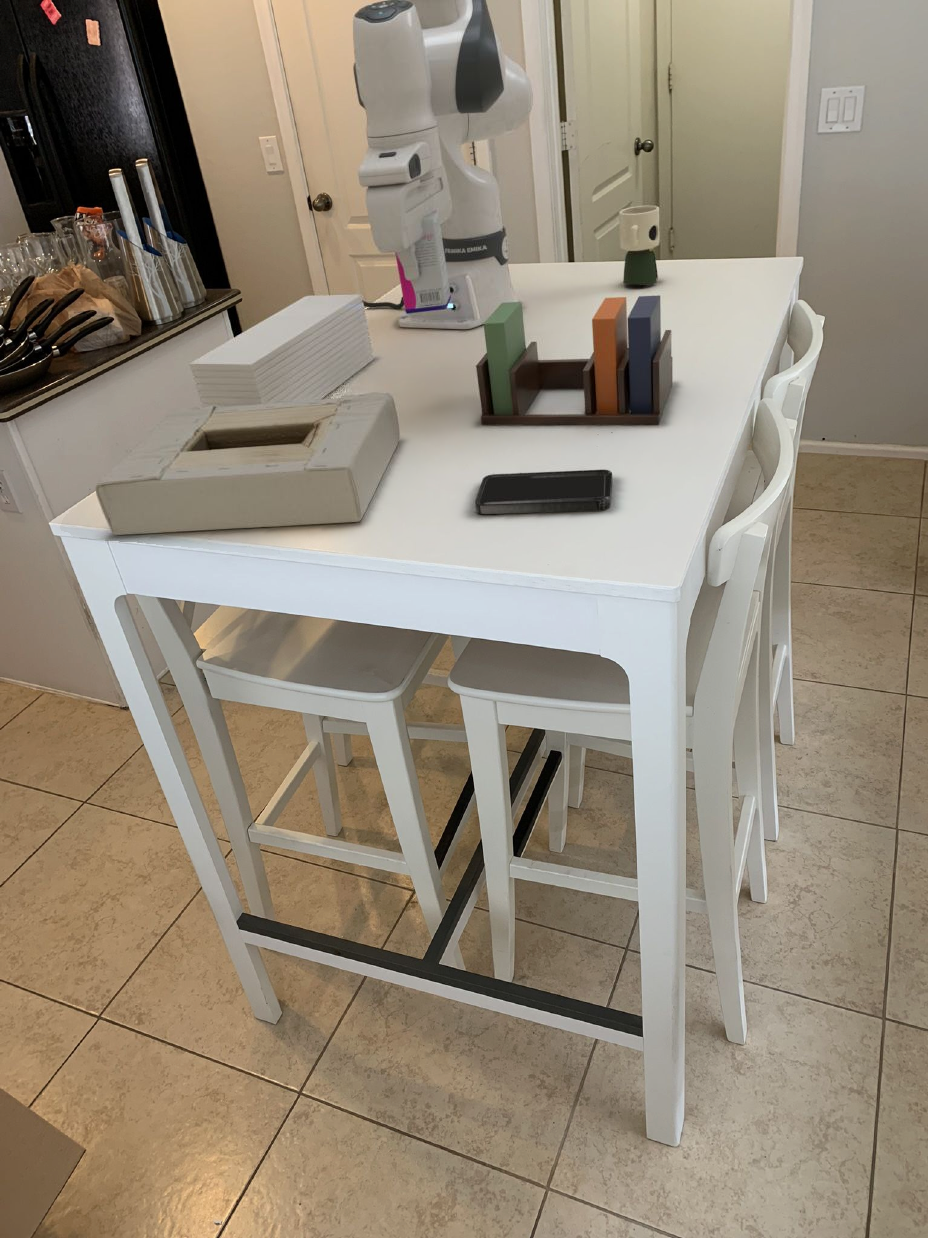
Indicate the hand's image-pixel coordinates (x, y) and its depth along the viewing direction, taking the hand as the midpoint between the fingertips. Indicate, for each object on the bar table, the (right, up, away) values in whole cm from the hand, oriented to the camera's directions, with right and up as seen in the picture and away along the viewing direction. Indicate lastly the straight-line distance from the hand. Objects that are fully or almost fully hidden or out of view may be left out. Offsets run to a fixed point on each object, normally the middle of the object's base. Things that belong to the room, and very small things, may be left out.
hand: (423, 270), depth 121 cm
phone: (+15, -33, -18) cm, 40 cm away
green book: (+12, -17, +6) cm, 22 cm away
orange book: (+26, -18, +2) cm, 31 cm away
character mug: (+38, +16, +48) cm, 63 cm away
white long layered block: (-21, -11, +22) cm, 32 cm away
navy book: (+30, -18, 0) cm, 35 cm away
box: (-20, -30, -5) cm, 36 cm away
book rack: (+21, -17, +3) cm, 27 cm away
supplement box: (+1, -4, +3) cm, 5 cm away
